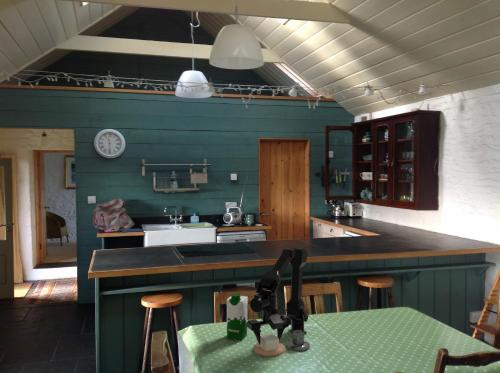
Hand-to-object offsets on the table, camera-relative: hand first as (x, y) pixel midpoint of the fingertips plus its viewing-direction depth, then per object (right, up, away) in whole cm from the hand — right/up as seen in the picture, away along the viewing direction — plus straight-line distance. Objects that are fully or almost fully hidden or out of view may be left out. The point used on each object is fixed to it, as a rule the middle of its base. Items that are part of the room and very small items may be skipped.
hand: (269, 342), depth 183 cm
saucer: (0, -3, 0) cm, 3 cm away
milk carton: (-14, -3, +14) cm, 20 cm away
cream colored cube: (0, -2, 0) cm, 2 cm away
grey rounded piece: (+13, -3, +4) cm, 14 cm away
